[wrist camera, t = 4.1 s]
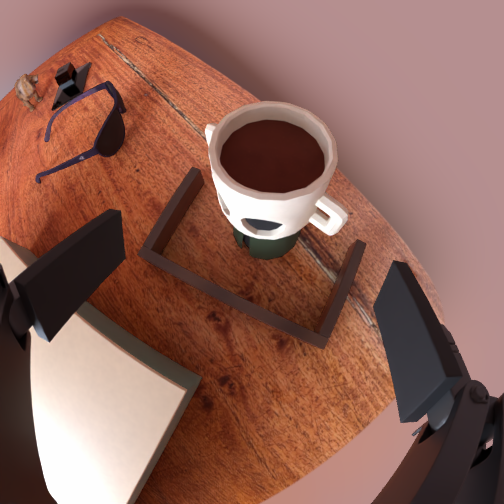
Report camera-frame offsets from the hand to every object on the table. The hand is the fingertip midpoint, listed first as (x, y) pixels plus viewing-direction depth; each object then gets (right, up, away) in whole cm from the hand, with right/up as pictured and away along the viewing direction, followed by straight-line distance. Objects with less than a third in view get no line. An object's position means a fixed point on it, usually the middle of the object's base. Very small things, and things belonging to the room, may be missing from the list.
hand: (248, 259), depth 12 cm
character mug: (+2, +2, +14) cm, 14 cm away
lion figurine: (-45, +32, +23) cm, 60 cm away
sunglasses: (-24, +16, +18) cm, 34 cm away
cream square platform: (-22, -16, +9) cm, 29 cm away
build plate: (-34, +32, +23) cm, 53 cm away
